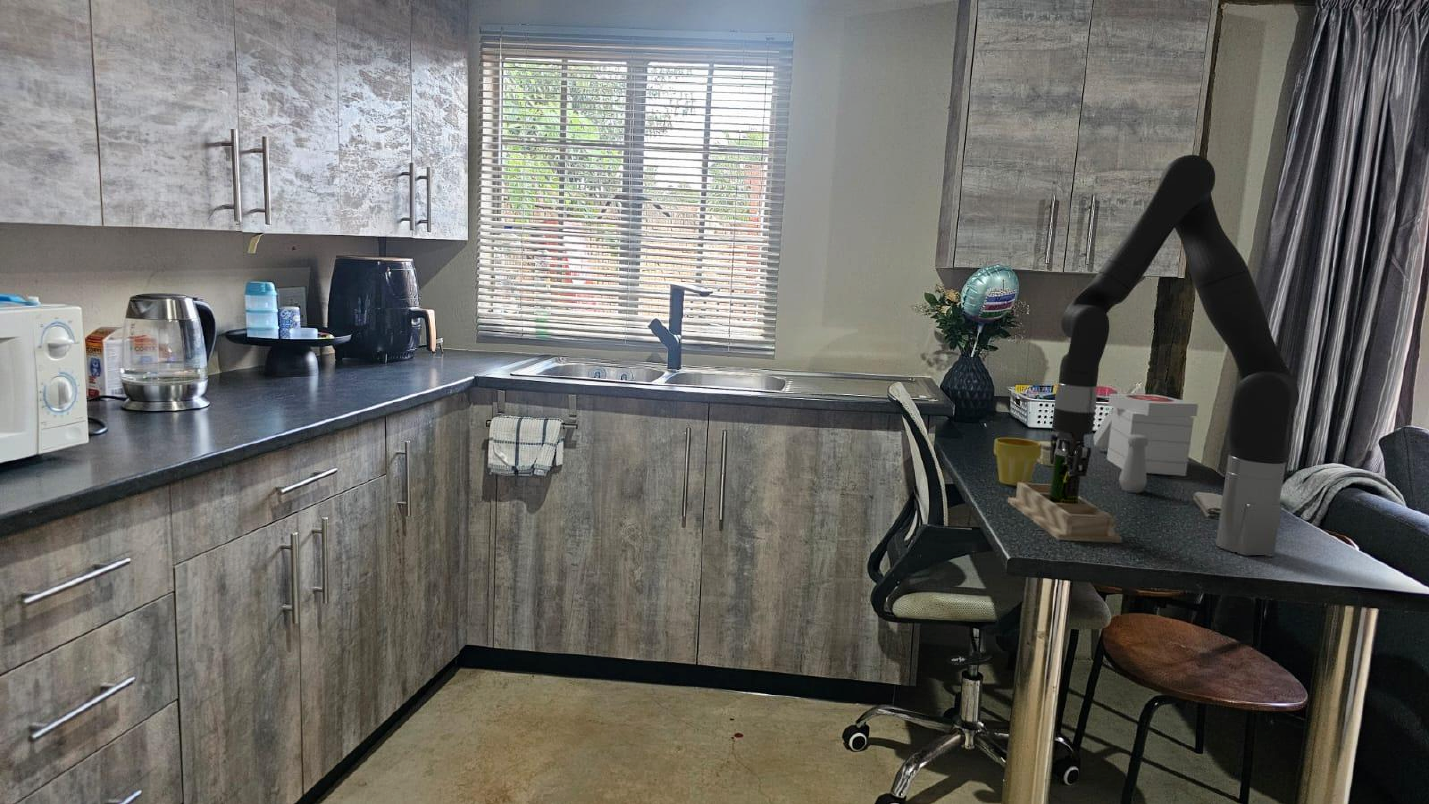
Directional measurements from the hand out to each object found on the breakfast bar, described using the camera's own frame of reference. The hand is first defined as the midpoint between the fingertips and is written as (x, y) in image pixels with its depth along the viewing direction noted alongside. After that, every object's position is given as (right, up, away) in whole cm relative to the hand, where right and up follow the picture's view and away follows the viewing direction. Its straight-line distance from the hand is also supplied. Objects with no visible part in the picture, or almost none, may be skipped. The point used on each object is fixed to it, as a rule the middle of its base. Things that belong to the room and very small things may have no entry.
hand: (1064, 491), depth 193 cm
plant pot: (0, -1, +33) cm, 33 cm away
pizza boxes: (+43, +1, +67) cm, 79 cm away
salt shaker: (+27, -3, +32) cm, 42 cm away
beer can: (0, -4, +1) cm, 4 cm away
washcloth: (+42, -7, +18) cm, 46 cm away
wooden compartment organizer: (0, -6, +1) cm, 6 cm away
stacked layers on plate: (+17, +1, +58) cm, 61 cm away
